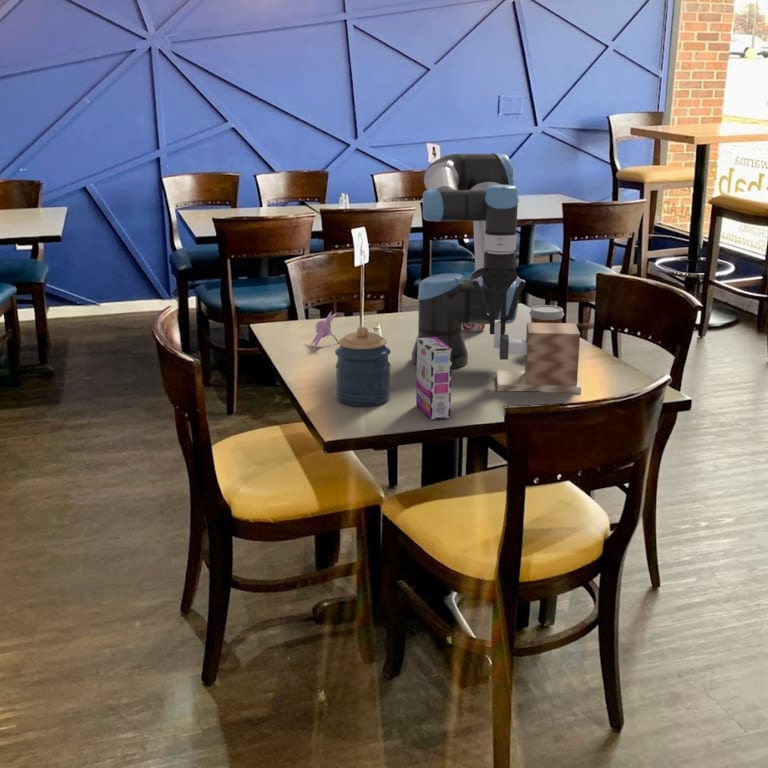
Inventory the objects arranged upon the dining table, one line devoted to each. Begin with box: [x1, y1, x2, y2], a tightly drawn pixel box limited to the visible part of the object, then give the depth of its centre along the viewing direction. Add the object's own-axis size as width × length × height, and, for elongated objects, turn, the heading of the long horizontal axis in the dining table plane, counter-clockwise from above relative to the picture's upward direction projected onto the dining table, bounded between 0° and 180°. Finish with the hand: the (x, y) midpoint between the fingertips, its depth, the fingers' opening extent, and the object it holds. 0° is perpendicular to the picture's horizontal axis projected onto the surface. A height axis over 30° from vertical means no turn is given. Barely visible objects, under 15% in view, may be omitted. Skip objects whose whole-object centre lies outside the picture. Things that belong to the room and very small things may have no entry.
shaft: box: [498, 334, 528, 361], centre depth 225 cm, size 16×5×5 cm, turn 85°
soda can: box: [462, 324, 486, 333], centre depth 277 cm, size 7×7×12 cm
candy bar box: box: [415, 337, 453, 421], centre depth 207 cm, size 11×5×16 cm, turn 16°
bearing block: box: [496, 322, 582, 394], centre depth 226 cm, size 20×12×14 cm, turn 85°
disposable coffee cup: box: [528, 304, 565, 323], centre depth 255 cm, size 10×10×12 cm
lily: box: [311, 310, 339, 350], centre depth 263 cm, size 12×12×10 cm
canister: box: [334, 326, 392, 408], centre depth 216 cm, size 13×13×18 cm
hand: (496, 346), depth 226 cm, fingers closed
